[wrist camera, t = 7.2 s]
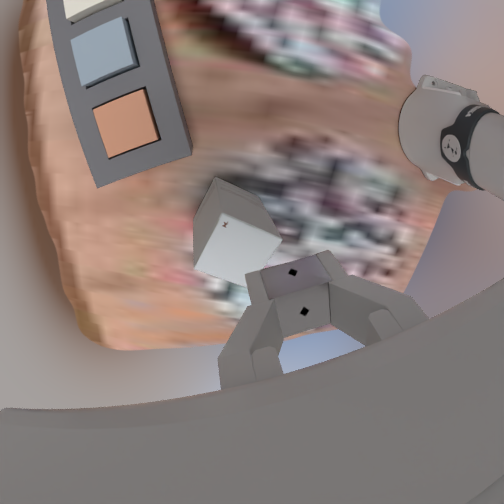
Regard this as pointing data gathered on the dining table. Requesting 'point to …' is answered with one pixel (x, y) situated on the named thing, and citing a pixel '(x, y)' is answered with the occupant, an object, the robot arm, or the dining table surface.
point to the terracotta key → (127, 123)
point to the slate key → (105, 52)
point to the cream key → (85, 8)
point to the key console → (122, 90)
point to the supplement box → (232, 233)
